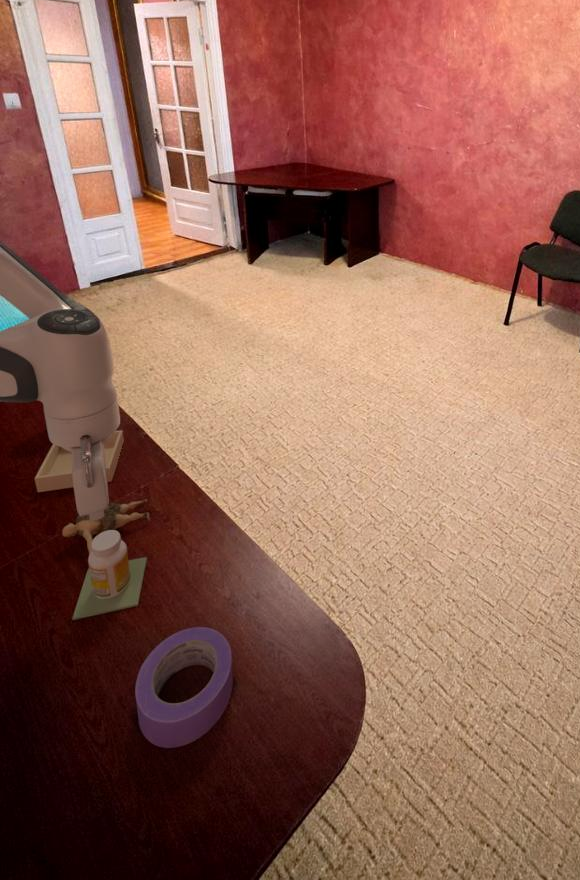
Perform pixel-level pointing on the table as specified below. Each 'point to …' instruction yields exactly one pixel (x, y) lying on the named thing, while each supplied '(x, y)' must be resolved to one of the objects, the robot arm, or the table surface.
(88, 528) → the figurine
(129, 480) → the table surface
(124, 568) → the supplement bottle
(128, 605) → the mat
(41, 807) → the table surface
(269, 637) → the table surface
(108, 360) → the robot arm
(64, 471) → the tray
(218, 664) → the tape roll
